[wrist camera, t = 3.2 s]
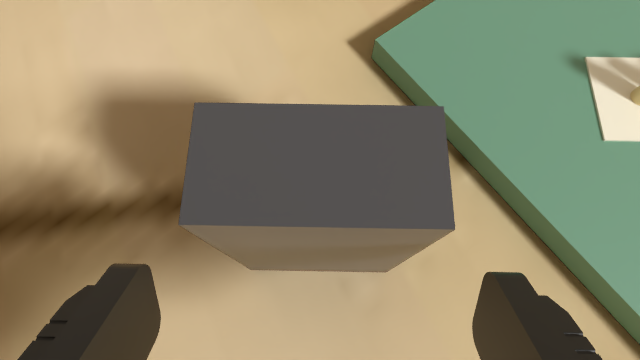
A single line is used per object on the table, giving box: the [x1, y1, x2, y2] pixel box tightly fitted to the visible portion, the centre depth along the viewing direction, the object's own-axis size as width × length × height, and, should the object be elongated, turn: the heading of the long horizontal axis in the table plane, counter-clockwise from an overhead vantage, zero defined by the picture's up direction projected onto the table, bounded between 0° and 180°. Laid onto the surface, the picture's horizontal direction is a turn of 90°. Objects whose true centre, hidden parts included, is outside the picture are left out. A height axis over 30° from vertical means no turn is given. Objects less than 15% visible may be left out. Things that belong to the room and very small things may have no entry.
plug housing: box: [179, 103, 455, 272], centre depth 14 cm, size 3×6×10 cm, turn 89°
